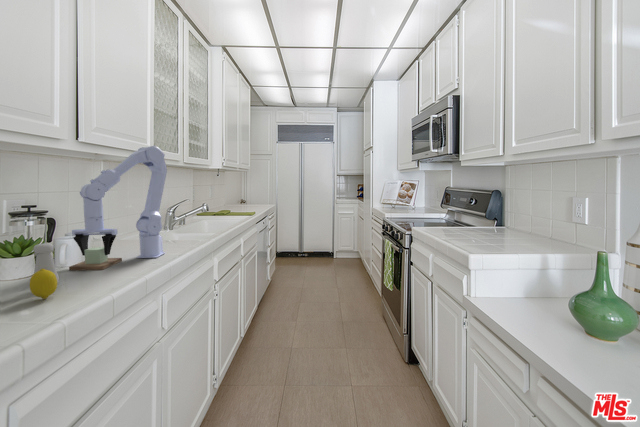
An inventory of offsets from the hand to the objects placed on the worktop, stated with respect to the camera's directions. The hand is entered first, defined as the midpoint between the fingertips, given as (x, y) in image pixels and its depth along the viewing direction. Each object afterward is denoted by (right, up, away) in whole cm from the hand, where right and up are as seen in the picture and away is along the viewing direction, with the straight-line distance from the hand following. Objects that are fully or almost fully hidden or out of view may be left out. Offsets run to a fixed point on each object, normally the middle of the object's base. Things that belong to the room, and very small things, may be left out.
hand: (96, 254), depth 122 cm
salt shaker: (+4, -7, -27) cm, 28 cm away
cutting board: (0, -4, 0) cm, 4 cm away
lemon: (+10, -7, -35) cm, 37 cm away
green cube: (0, -3, 0) cm, 3 cm away
